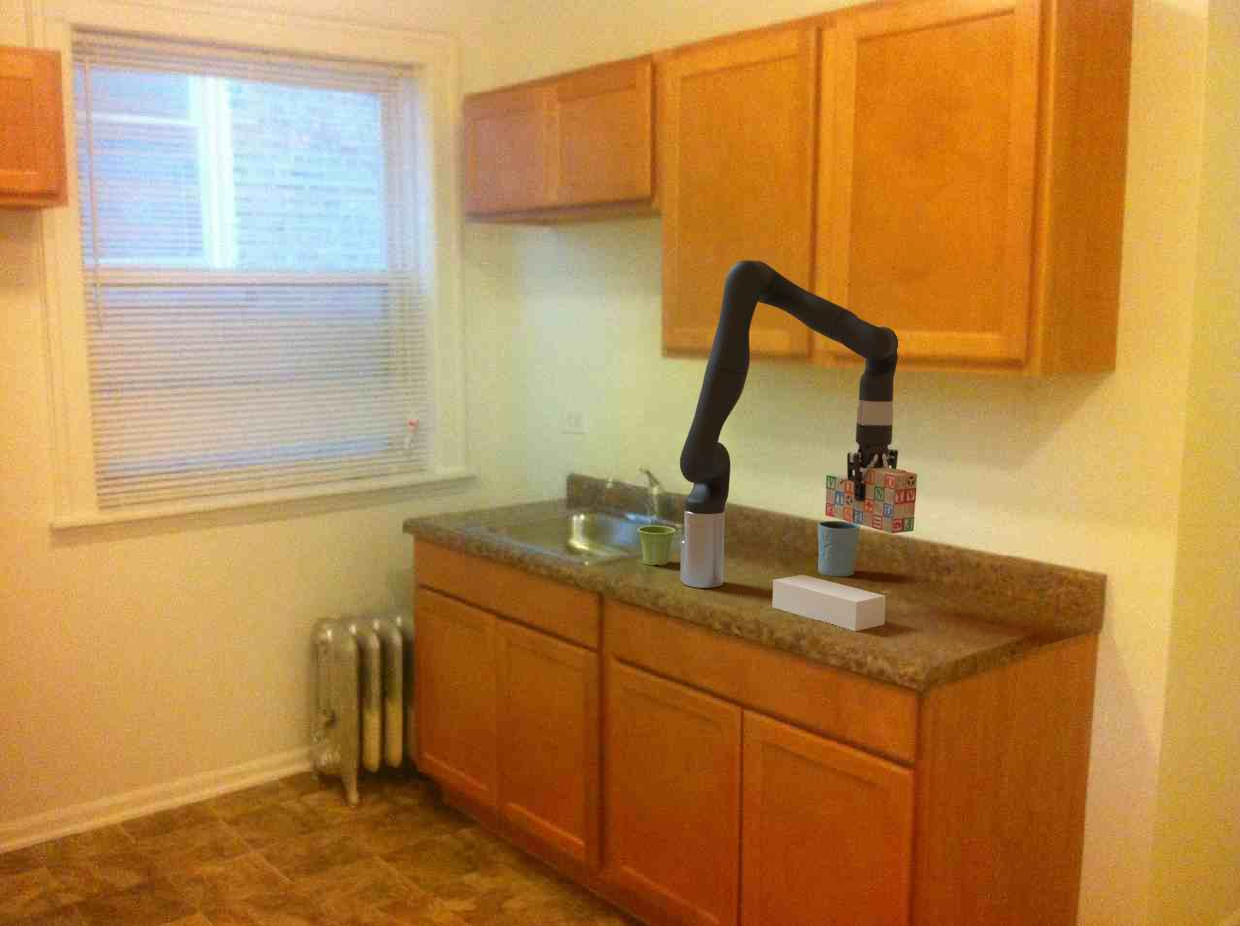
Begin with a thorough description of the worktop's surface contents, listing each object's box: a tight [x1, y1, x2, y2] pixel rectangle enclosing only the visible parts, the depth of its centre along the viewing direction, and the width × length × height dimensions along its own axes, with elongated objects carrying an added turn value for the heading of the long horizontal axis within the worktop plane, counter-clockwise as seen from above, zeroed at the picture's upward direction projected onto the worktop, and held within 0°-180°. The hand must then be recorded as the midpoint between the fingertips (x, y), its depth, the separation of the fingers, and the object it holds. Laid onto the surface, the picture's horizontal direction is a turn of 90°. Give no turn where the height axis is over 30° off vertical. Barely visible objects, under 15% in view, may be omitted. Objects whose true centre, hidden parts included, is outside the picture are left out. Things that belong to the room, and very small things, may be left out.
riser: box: [772, 574, 886, 632], centre depth 245 cm, size 23×9×6 cm, turn 38°
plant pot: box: [637, 525, 676, 567], centre depth 292 cm, size 9×9×9 cm
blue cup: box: [817, 520, 861, 578], centre depth 285 cm, size 10×10×12 cm
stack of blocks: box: [824, 467, 918, 534], centre depth 250 cm, size 21×6×12 cm, turn 31°
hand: (870, 499), depth 250 cm, fingers closed on stack of blocks, 6 cm apart
